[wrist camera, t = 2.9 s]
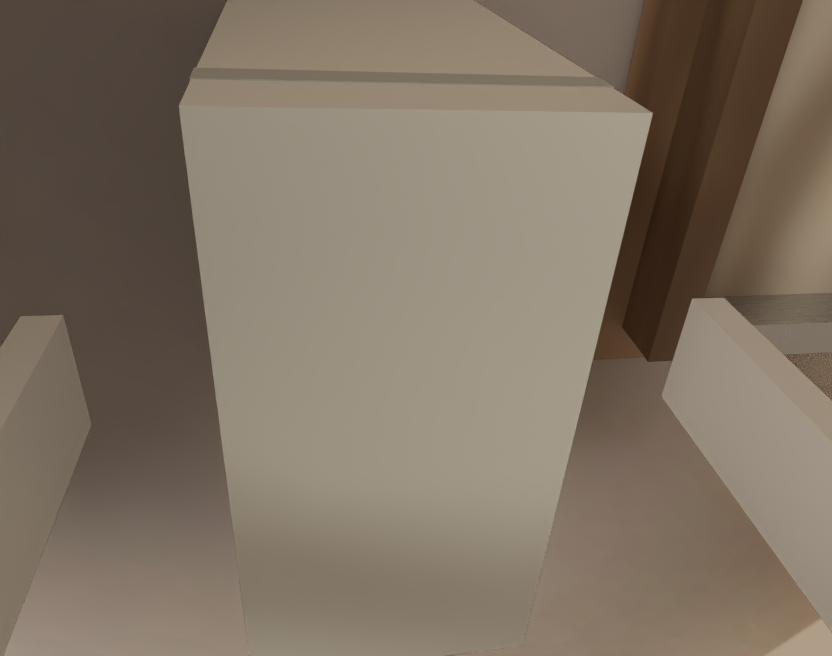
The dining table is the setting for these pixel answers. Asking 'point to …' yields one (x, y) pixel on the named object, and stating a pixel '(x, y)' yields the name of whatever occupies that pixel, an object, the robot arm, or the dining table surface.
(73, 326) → the dining table surface
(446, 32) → the white lidded box
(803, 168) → the tray
